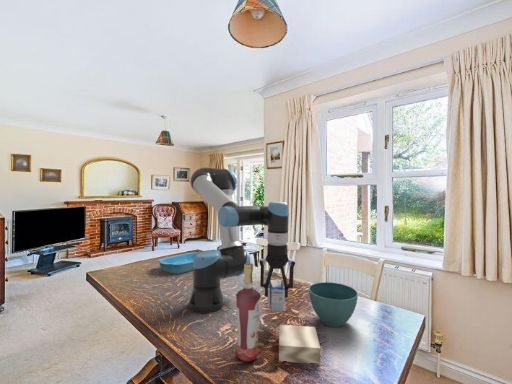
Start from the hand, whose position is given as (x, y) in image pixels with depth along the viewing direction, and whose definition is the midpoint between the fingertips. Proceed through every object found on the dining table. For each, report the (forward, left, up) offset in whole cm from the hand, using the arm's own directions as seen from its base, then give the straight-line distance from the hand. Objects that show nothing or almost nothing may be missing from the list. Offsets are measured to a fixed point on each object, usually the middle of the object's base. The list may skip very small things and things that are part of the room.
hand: (275, 305), depth 96 cm
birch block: (+6, -14, -8) cm, 18 cm away
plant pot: (+22, +5, -8) cm, 24 cm away
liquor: (-10, -19, -8) cm, 22 cm away
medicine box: (0, 0, -1) cm, 1 cm away
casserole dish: (-56, +74, -8) cm, 93 cm away
